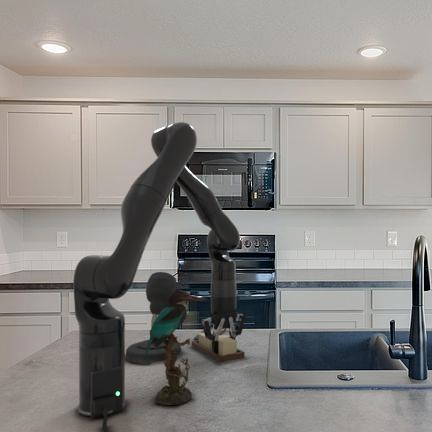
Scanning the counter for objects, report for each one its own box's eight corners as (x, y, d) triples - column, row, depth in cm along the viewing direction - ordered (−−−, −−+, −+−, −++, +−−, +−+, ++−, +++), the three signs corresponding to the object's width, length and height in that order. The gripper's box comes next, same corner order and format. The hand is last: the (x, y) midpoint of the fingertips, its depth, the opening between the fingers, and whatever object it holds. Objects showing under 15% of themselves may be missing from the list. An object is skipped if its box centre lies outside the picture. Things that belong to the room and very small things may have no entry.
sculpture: (202, 407, 98) (202, 293, 98) (139, 406, 99) (139, 292, 99) (211, 392, 106) (211, 287, 106) (153, 391, 107) (153, 286, 107)
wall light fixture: (189, 270, 148) (173, 275, 128) (189, 346, 147) (172, 364, 127) (142, 270, 148) (118, 275, 128) (141, 346, 147) (117, 363, 127)
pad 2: (236, 354, 132) (236, 340, 132) (223, 357, 129) (223, 343, 129) (224, 347, 138) (224, 334, 138) (210, 350, 136) (210, 337, 136)
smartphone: (226, 328, 164) (214, 339, 149) (226, 330, 164) (214, 342, 149) (206, 327, 165) (192, 338, 150) (206, 329, 165) (192, 340, 150)
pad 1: (222, 349, 139) (222, 336, 139) (209, 352, 136) (209, 339, 136) (211, 343, 146) (211, 331, 146) (198, 345, 143) (198, 333, 143)
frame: (244, 358, 132) (244, 352, 132) (219, 364, 127) (219, 357, 127) (214, 343, 148) (214, 337, 148) (191, 347, 143) (191, 341, 143)
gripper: (207, 298, 126) (207, 359, 126) (250, 293, 135) (250, 350, 135) (196, 294, 133) (196, 352, 133) (238, 289, 141) (238, 344, 141)
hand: (223, 351), depth 134 cm, fingers closed on pad 2, 4 cm apart
